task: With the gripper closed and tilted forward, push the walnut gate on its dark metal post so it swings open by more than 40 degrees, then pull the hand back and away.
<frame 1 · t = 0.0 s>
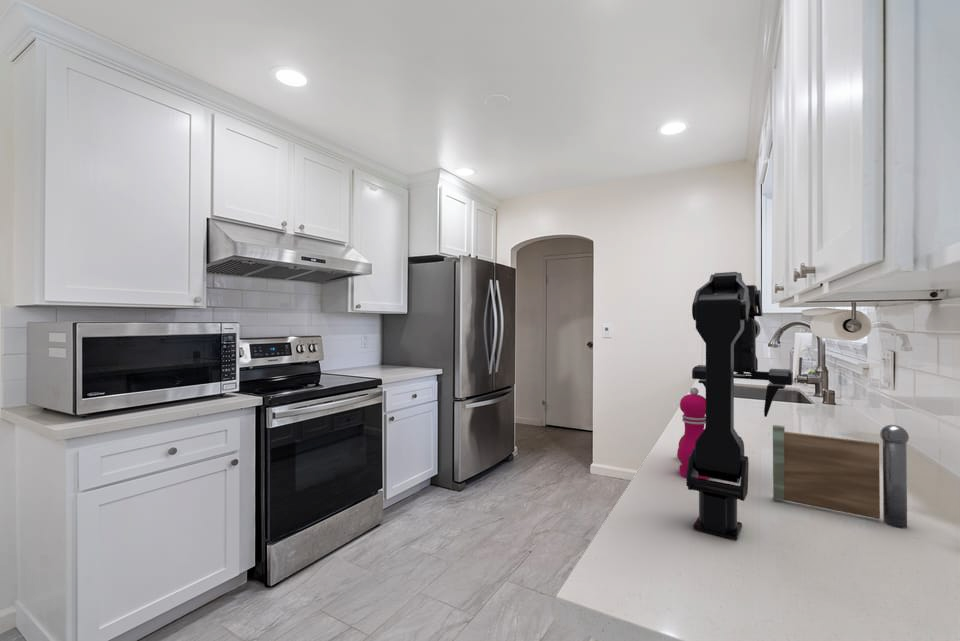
hand: (740, 413, 98), 15 cm above the counter, tool pointing down, fingers open, 9 cm apart
pepper mill: (694, 476, 101), on the counter
gate post: (895, 524, 77), on the counter
gate: (823, 469, 83), point 8 cm above the counter, hinge at 0.0°
onion: (691, 461, 112), on the counter
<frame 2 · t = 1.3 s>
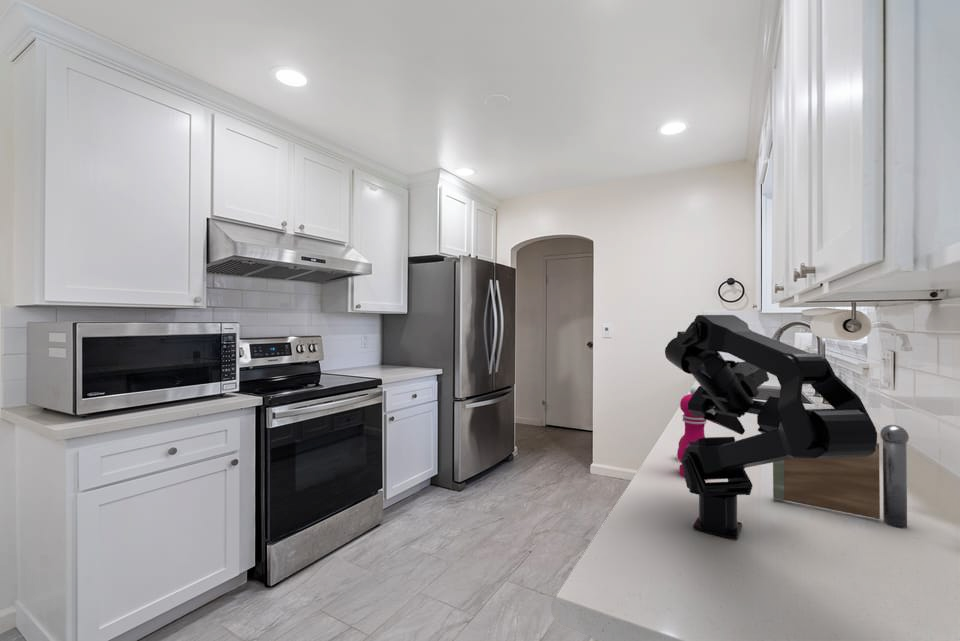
hand: (761, 437, 82), 14 cm above the counter, tool tilted 45°, fingers open, 7 cm apart
nothing on the counter moved.
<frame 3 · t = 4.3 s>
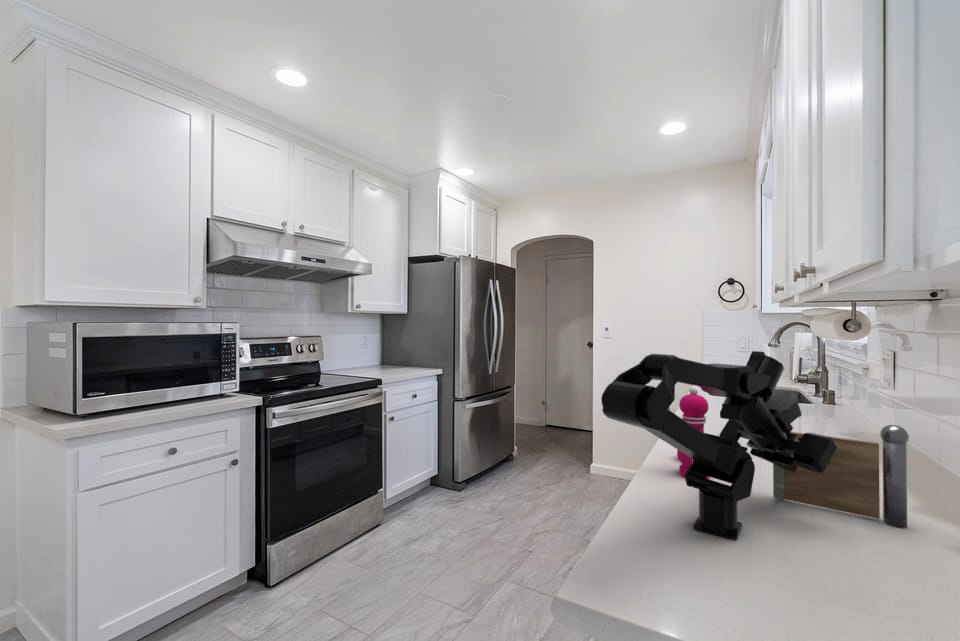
hand: (793, 469, 85), 7 cm above the counter, tool tilted 45°, fingers closed
gate: (823, 468, 83), point 8 cm above the counter, hinge at 2.4°, touching gripper
everything else where it was.
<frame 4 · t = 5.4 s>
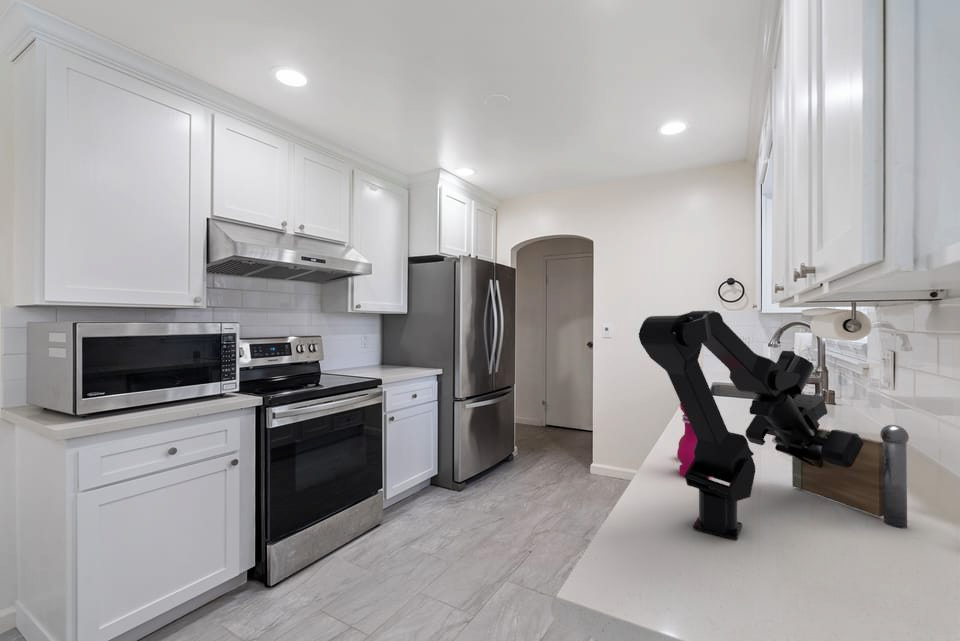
hand: (817, 465, 88), 6 cm above the counter, tool tilted 45°, fingers closed
gate: (834, 463, 86), point 7 cm above the counter, hinge at 35.1°, touching gripper
everything else where it was.
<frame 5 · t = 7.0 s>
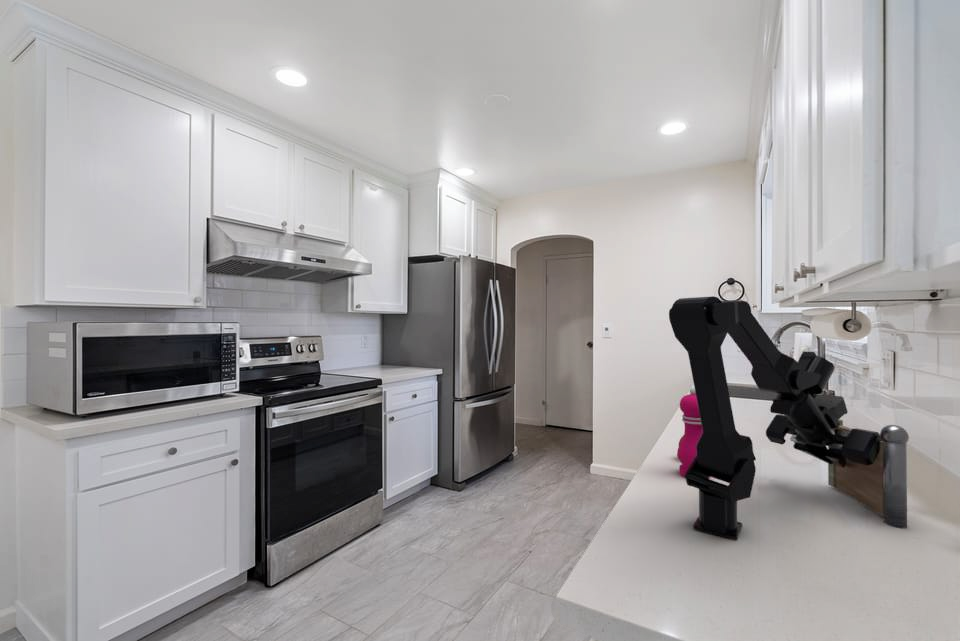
hand: (838, 464, 90), 6 cm above the counter, tool tilted 45°, fingers closed
gate: (857, 462, 86), point 7 cm above the counter, hinge at 62.5°, touching gripper
everything else where it was.
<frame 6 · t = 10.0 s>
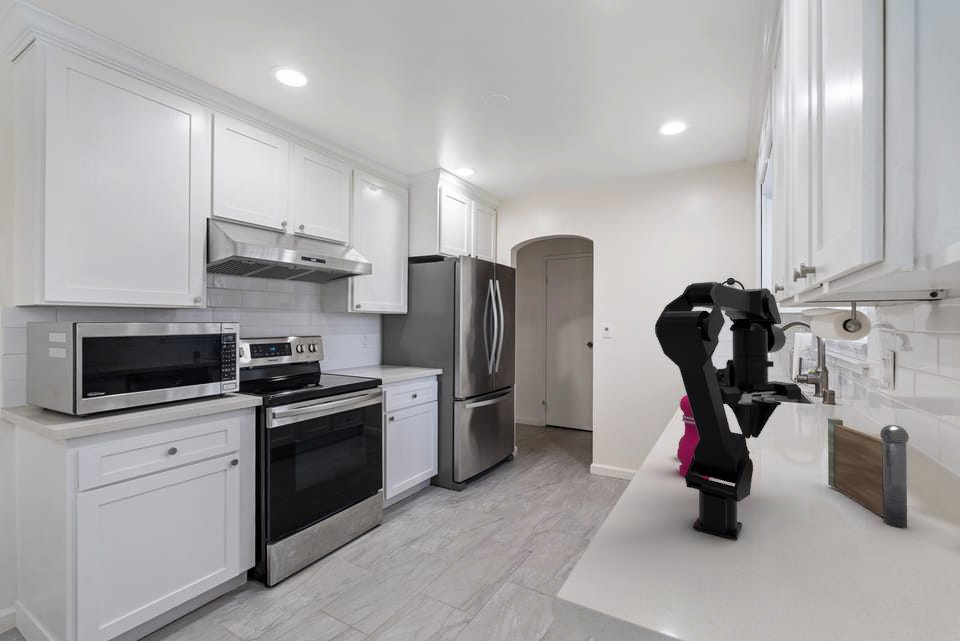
hand: (750, 437, 84), 13 cm above the counter, tool pointing down, fingers closed
gate: (857, 462, 86), point 7 cm above the counter, hinge at 62.5°
everything else where it was.
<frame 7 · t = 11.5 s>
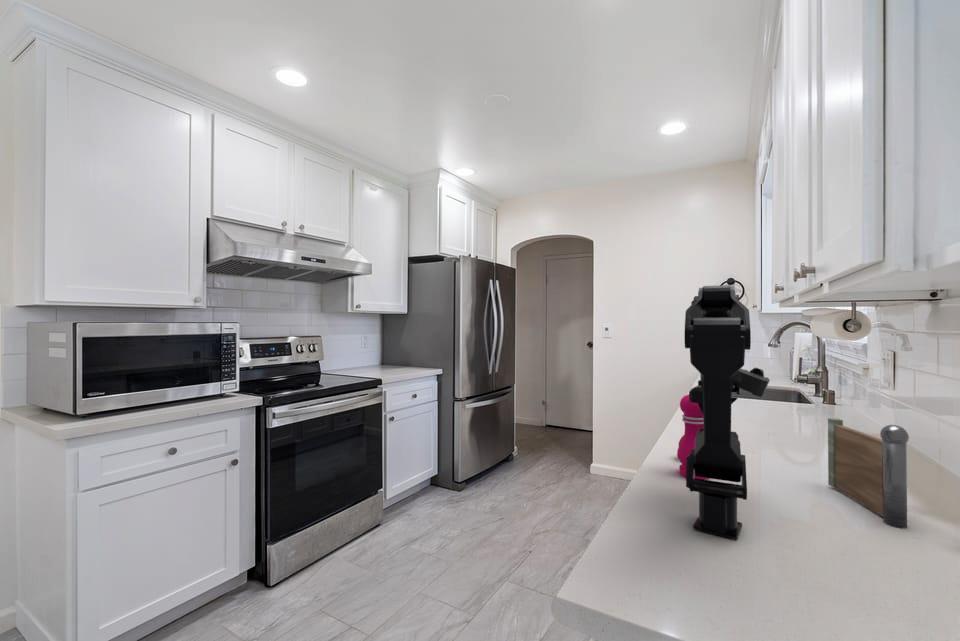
hand: (717, 435, 86), 13 cm above the counter, tool pointing down, fingers closed
nothing on the counter moved.
at the end: gate at +62° (first picture: +0°); pepper mill moved 0.2 cm from its start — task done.
